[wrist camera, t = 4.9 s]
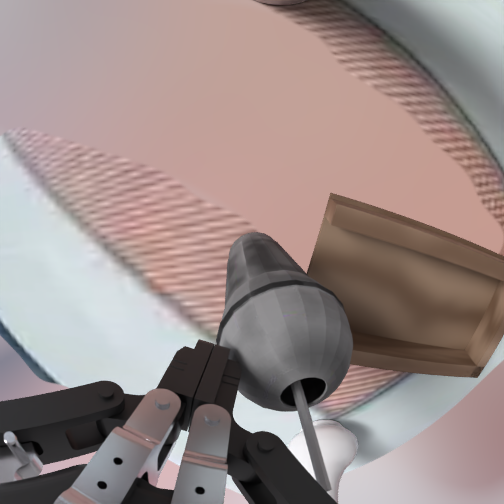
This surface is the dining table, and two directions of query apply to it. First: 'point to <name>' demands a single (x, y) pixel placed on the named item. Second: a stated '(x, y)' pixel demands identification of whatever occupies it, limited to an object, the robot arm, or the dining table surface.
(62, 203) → the dining table surface
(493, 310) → the u rest
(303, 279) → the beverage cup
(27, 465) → the robot arm
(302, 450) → the flower vase
